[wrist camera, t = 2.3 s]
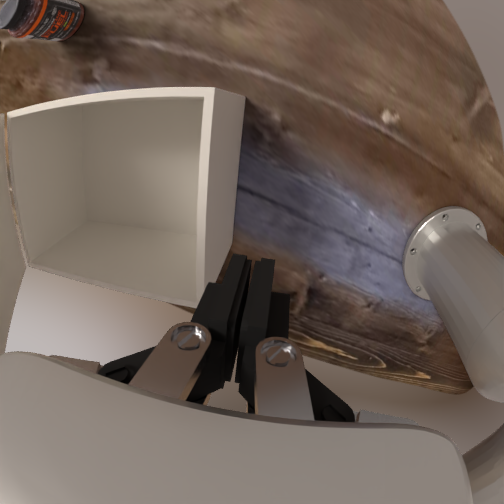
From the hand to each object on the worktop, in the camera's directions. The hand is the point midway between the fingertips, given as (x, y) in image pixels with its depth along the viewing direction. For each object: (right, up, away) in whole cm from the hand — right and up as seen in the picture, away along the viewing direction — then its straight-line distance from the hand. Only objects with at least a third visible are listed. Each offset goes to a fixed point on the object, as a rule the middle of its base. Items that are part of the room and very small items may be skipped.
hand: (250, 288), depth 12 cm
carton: (-11, +11, +18) cm, 24 cm away
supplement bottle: (-23, +31, +10) cm, 40 cm away
